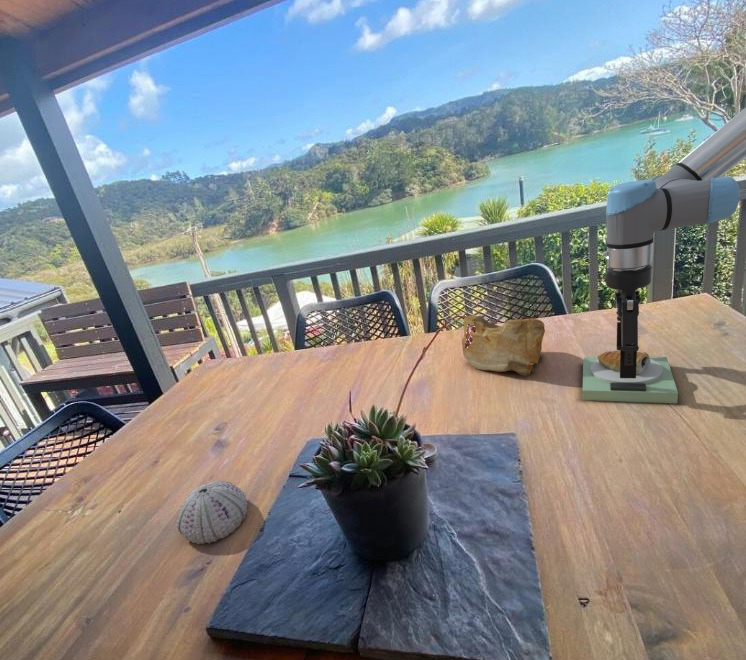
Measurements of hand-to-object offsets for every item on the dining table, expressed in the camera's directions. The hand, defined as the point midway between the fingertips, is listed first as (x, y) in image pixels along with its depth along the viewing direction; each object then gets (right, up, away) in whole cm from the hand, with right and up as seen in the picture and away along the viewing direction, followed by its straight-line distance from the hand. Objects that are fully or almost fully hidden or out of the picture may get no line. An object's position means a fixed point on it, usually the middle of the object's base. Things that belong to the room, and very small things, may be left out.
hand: (625, 362), depth 93 cm
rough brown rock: (-16, -1, +21) cm, 26 cm away
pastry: (0, -1, +1) cm, 1 cm away
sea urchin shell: (-85, -31, -10) cm, 91 cm away
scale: (+1, -5, +1) cm, 5 cm away
